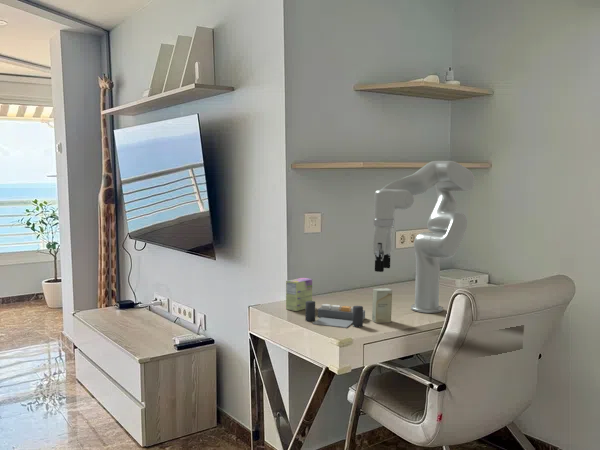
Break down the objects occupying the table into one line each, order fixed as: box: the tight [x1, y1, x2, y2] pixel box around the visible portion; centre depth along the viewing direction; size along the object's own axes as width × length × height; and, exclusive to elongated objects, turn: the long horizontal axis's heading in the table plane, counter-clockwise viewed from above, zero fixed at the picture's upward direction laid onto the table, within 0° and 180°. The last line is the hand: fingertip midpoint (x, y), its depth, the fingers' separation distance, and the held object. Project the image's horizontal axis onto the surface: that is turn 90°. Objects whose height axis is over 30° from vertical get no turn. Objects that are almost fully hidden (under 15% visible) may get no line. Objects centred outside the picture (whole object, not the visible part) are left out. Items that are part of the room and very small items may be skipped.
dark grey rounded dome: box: [304, 300, 316, 323], centre depth 207 cm, size 4×4×7 cm
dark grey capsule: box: [352, 305, 364, 328], centre depth 200 cm, size 4×4×7 cm
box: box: [285, 277, 313, 312], centre depth 226 cm, size 10×6×12 cm, turn 141°
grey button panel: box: [312, 303, 366, 329], centre depth 207 cm, size 16×17×4 cm
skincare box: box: [371, 287, 393, 324], centre depth 206 cm, size 6×4×12 cm
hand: (382, 269), depth 205 cm, fingers open, 9 cm apart
